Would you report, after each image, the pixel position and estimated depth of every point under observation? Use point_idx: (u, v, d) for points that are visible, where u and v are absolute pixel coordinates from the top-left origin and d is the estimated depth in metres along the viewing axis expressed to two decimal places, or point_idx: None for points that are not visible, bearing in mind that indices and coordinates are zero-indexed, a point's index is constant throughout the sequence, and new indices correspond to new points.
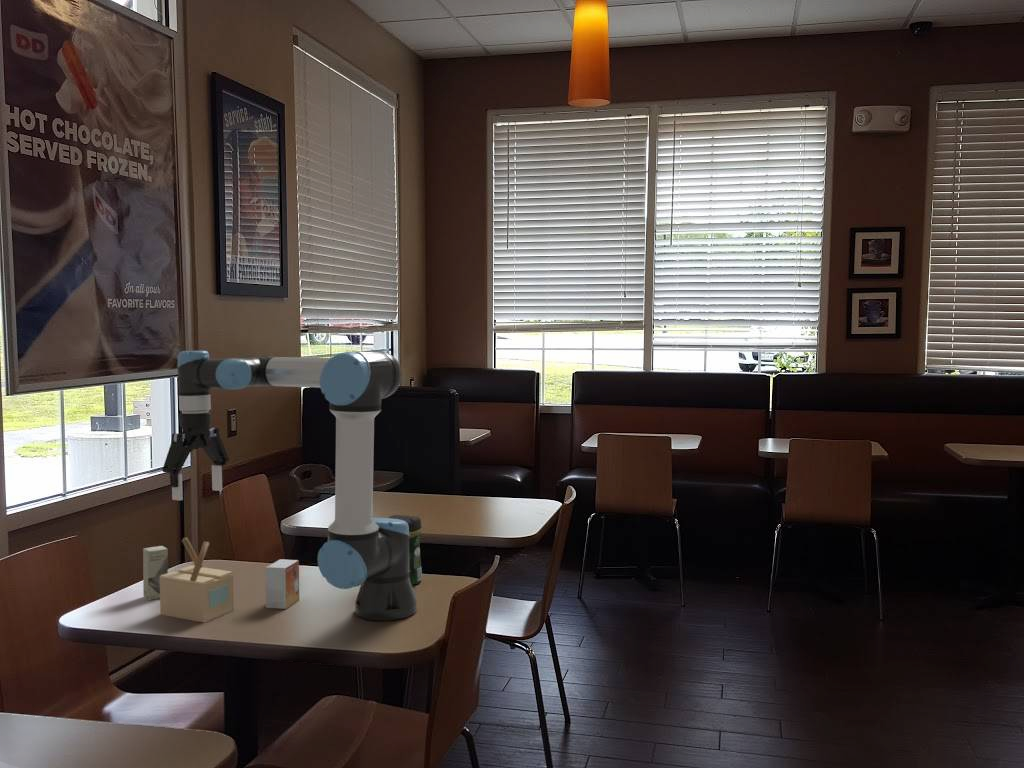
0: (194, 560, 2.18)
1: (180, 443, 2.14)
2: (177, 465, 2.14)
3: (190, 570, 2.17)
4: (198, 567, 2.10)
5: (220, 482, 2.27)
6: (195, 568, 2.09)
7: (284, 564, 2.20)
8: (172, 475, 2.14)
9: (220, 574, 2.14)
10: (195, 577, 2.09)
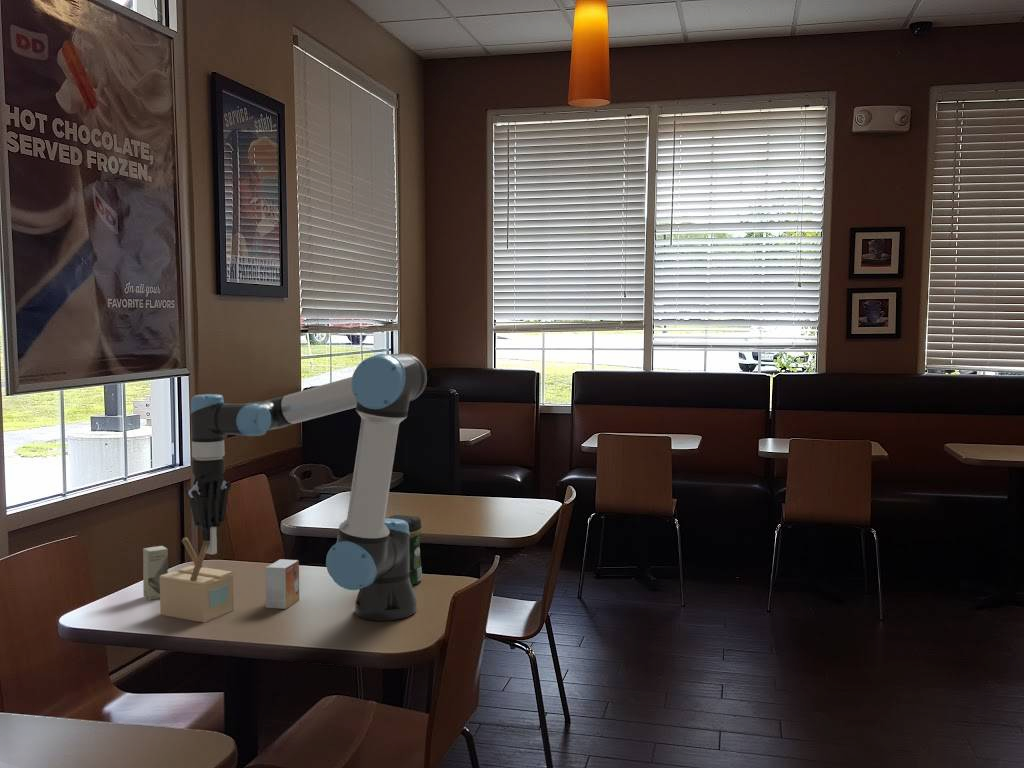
0: (194, 560, 2.18)
1: (198, 498, 2.08)
2: (206, 520, 2.11)
3: (190, 570, 2.17)
4: (198, 567, 2.10)
5: (214, 544, 2.14)
6: (195, 568, 2.09)
7: (284, 564, 2.20)
8: (204, 529, 2.12)
9: (220, 574, 2.14)
10: (195, 577, 2.09)
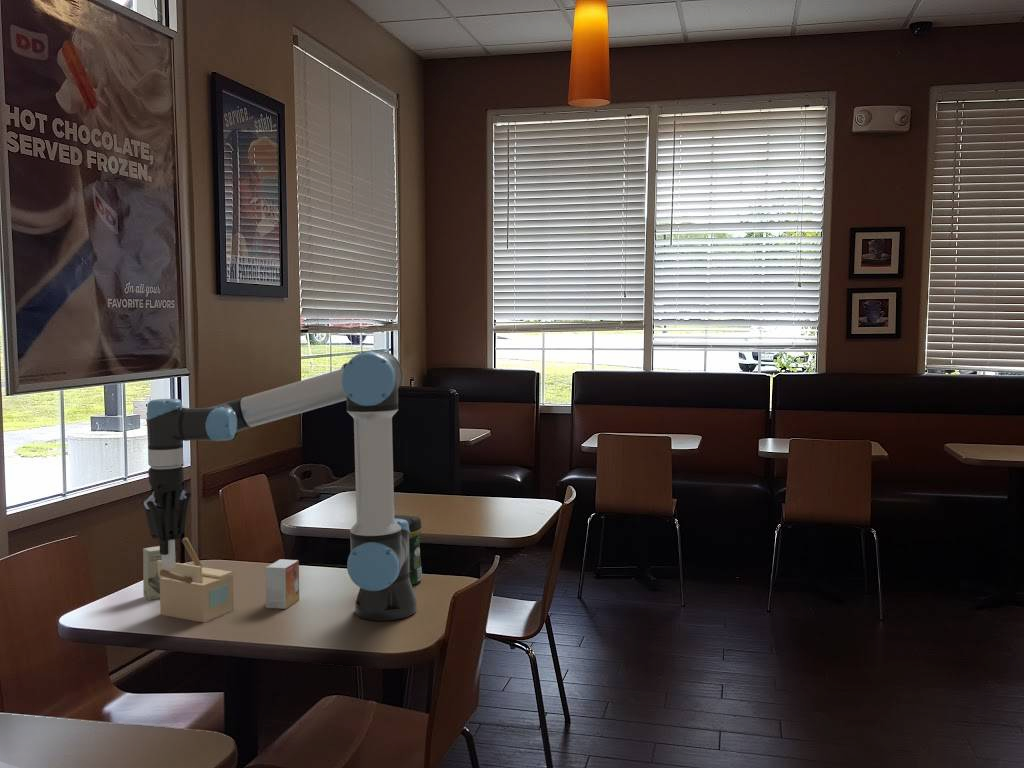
0: (194, 560, 2.18)
1: (154, 509, 1.96)
2: (164, 532, 1.99)
3: None
4: (182, 579, 2.05)
5: (173, 558, 2.01)
6: None
7: (284, 564, 2.20)
8: (162, 542, 2.00)
9: (220, 574, 2.14)
10: (189, 580, 2.07)
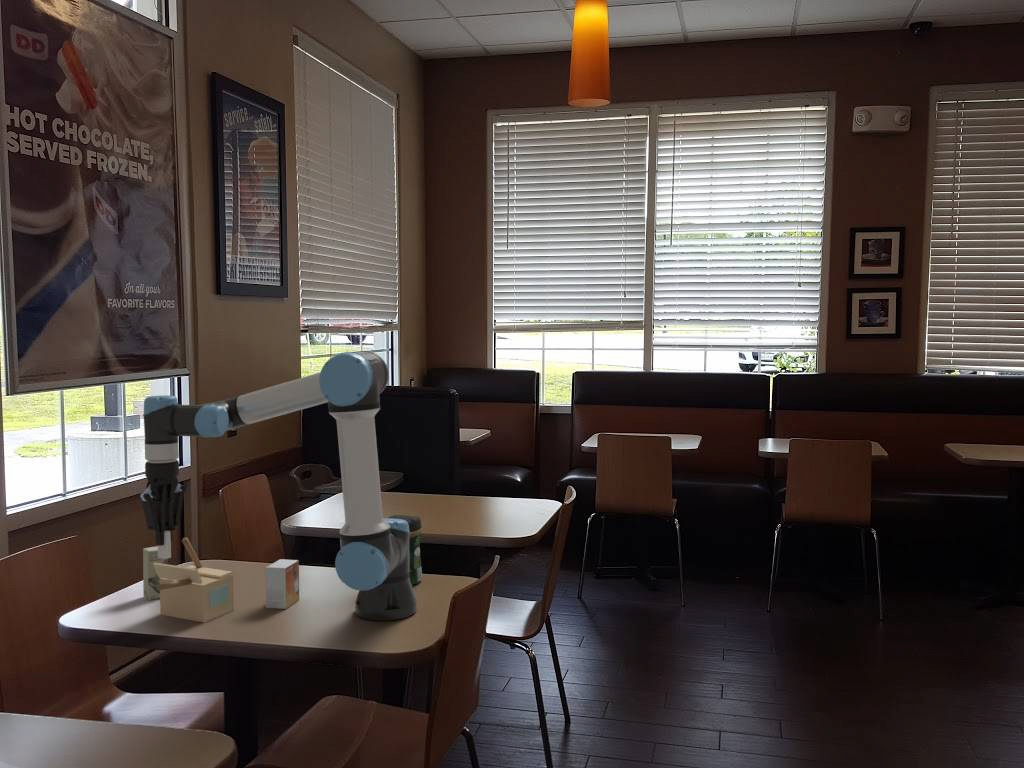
0: (194, 560, 2.18)
1: (151, 501, 2.04)
2: (160, 524, 2.07)
3: None
4: (181, 585, 2.05)
5: (168, 549, 2.09)
6: (181, 585, 2.05)
7: (285, 564, 2.20)
8: (158, 533, 2.08)
9: (220, 574, 2.14)
10: (189, 582, 2.07)
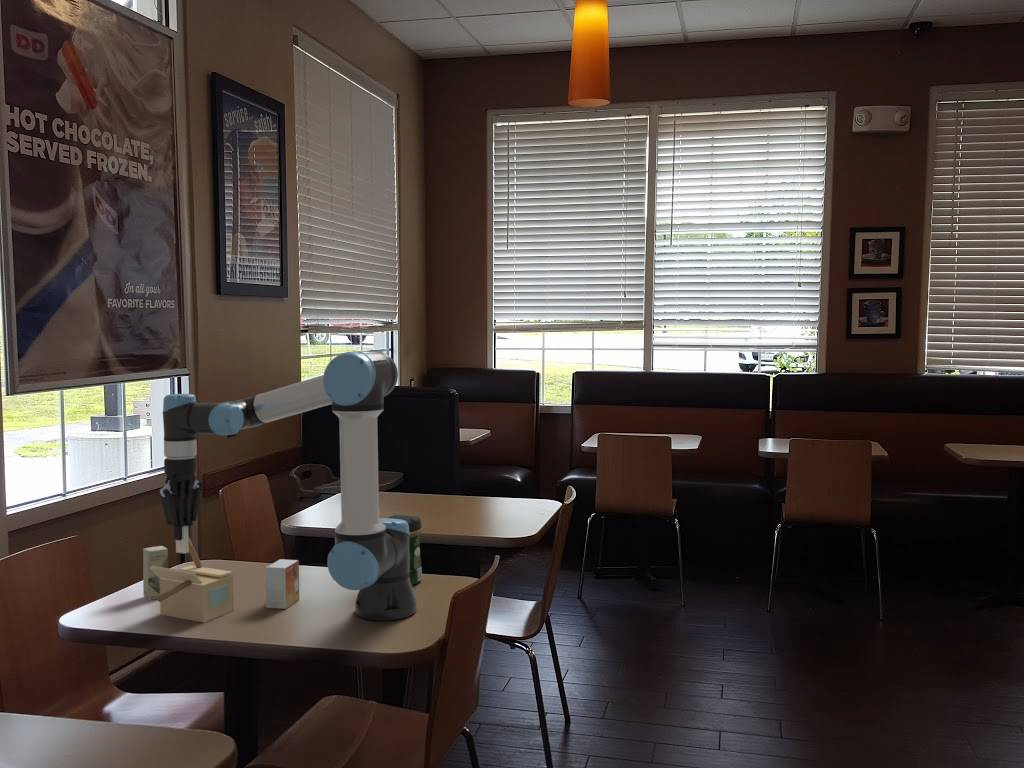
0: (194, 559, 2.18)
1: (170, 497, 2.09)
2: (178, 519, 2.12)
3: (190, 569, 2.17)
4: (181, 589, 2.05)
5: (186, 543, 2.14)
6: None
7: (284, 564, 2.20)
8: (176, 528, 2.13)
9: (220, 573, 2.14)
10: (189, 584, 2.07)
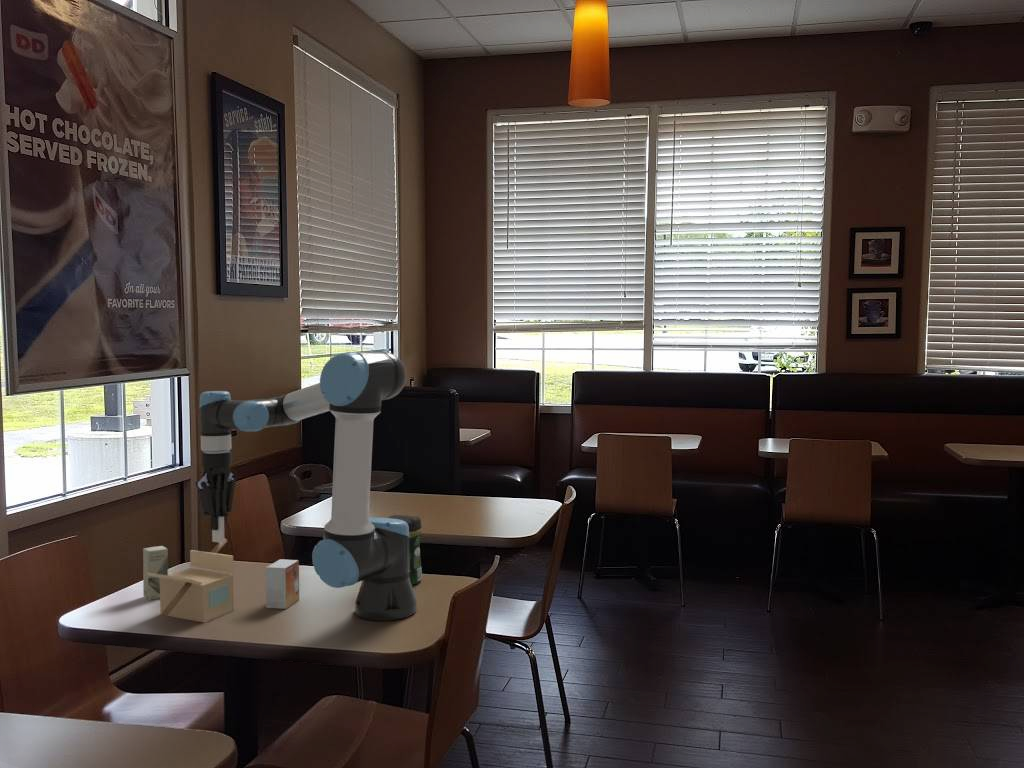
0: None
1: (207, 489, 2.20)
2: (214, 510, 2.23)
3: None
4: (183, 594, 2.06)
5: (222, 533, 2.26)
6: None
7: (284, 564, 2.20)
8: (213, 519, 2.24)
9: None
10: (189, 586, 2.07)
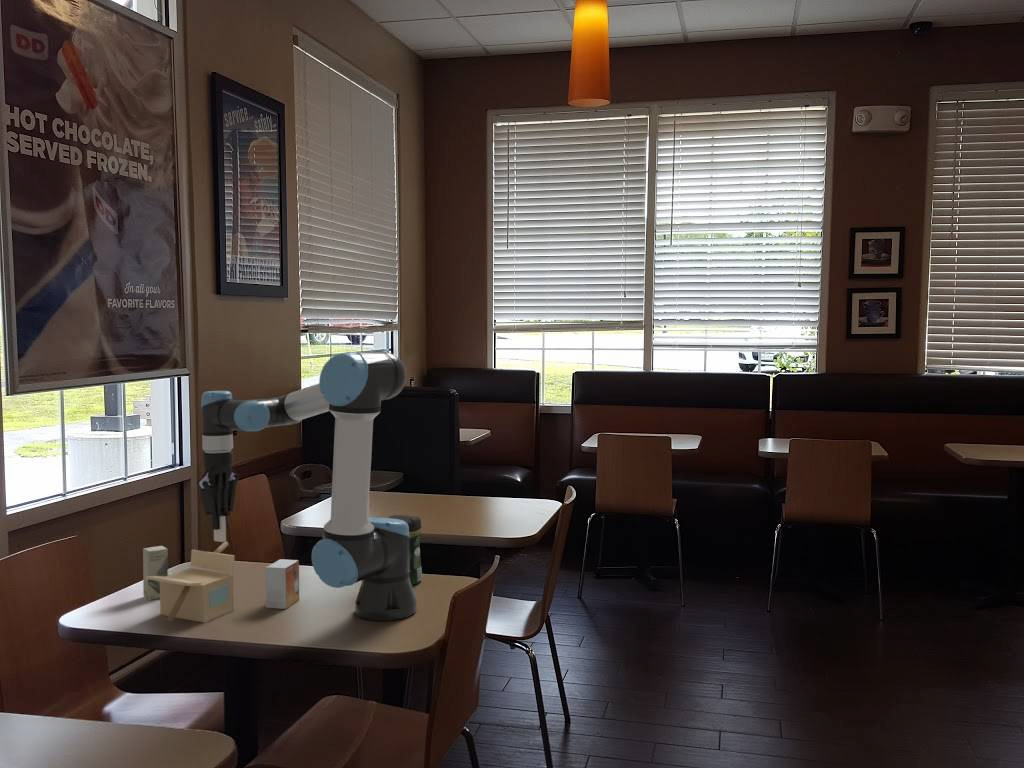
0: None
1: (209, 488, 2.21)
2: (216, 509, 2.24)
3: None
4: (185, 596, 2.06)
5: (224, 533, 2.26)
6: None
7: (285, 564, 2.20)
8: (214, 518, 2.24)
9: None
10: (190, 587, 2.07)
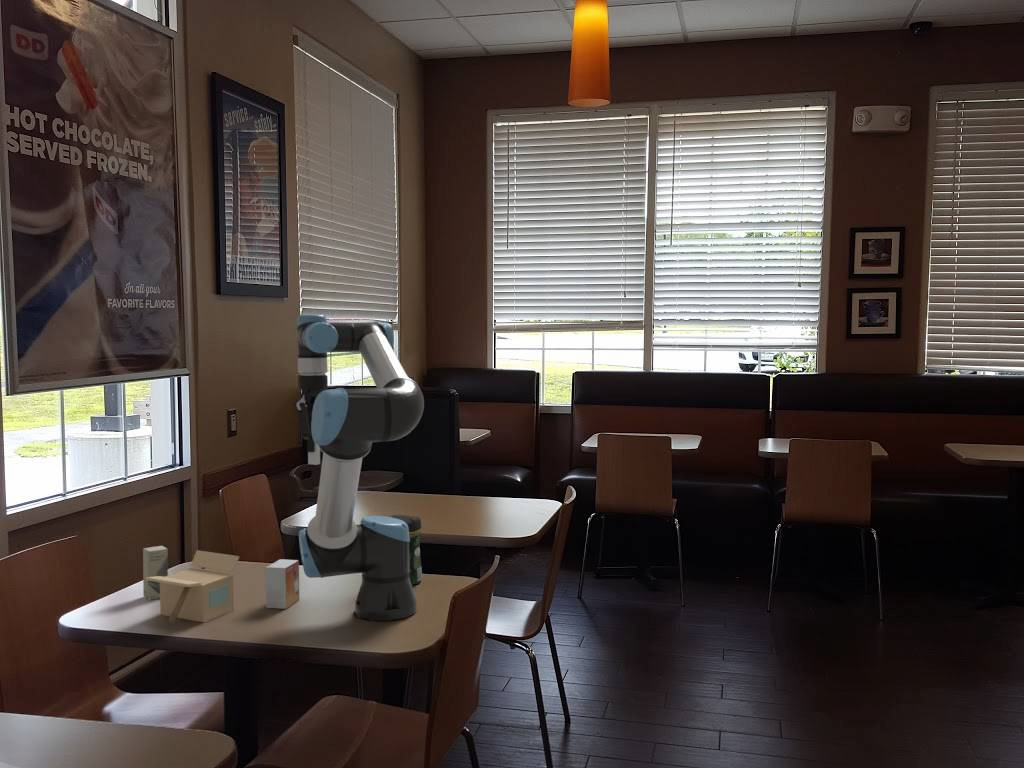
0: None
1: (305, 410, 2.23)
2: (311, 432, 2.26)
3: None
4: None
5: (318, 456, 2.28)
6: None
7: (284, 564, 2.20)
8: (309, 441, 2.26)
9: None
10: (190, 587, 2.07)
